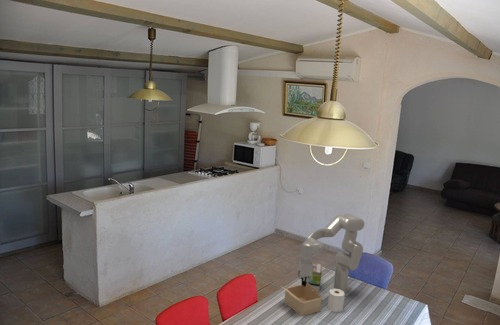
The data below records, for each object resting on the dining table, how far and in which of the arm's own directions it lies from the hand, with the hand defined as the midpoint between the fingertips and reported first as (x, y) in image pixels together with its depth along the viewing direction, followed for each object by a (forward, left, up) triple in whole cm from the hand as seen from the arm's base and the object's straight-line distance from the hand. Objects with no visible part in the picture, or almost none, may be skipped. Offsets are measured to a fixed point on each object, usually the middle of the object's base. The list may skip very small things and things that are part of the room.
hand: (303, 285), depth 272 cm
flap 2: (-7, 0, -3) cm, 8 cm away
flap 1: (+10, 0, -4) cm, 11 cm away
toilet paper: (-20, +11, -16) cm, 28 cm away
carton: (0, 0, -16) cm, 16 cm away
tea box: (-26, -21, -16) cm, 37 cm away
